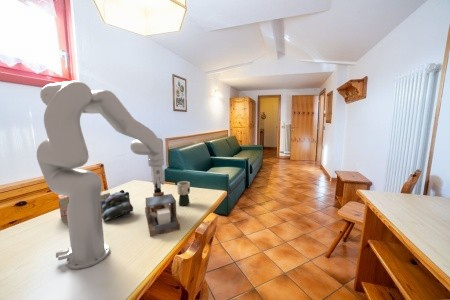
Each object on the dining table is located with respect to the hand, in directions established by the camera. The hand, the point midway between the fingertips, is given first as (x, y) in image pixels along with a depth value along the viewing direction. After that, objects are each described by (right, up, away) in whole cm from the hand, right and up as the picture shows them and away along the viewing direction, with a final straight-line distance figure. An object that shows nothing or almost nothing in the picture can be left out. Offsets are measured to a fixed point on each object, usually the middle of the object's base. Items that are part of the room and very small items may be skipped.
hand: (157, 196), depth 102 cm
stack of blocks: (-38, -9, +1) cm, 39 cm away
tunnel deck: (+4, -10, -7) cm, 13 cm away
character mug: (+11, -8, +13) cm, 18 cm away
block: (+8, -9, -15) cm, 19 cm away
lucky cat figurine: (-20, -10, -2) cm, 23 cm away
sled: (+6, -8, -10) cm, 14 cm away
